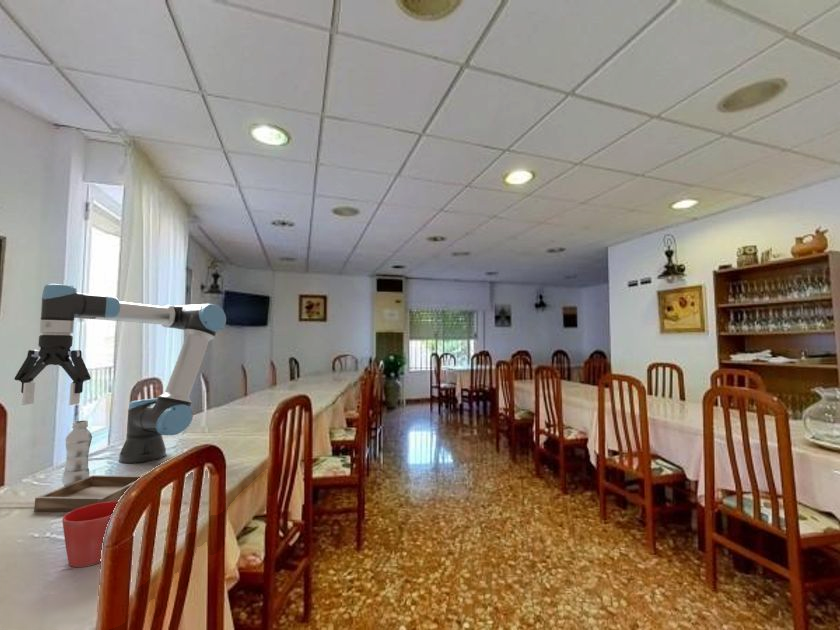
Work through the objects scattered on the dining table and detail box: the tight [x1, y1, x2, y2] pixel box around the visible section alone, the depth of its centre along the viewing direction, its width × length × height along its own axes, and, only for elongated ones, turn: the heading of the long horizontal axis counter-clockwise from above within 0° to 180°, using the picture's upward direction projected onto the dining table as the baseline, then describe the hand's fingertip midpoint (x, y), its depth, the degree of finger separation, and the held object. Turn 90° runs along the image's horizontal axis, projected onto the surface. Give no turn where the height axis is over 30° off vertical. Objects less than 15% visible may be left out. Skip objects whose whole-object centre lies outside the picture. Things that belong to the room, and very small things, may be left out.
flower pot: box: [61, 501, 118, 568], centre depth 81 cm, size 11×11×10 cm
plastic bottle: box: [61, 420, 93, 487], centre depth 122 cm, size 6×7×20 cm
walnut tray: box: [33, 474, 142, 513], centre depth 111 cm, size 18×18×4 cm
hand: (51, 404), depth 115 cm, fingers open, 13 cm apart
